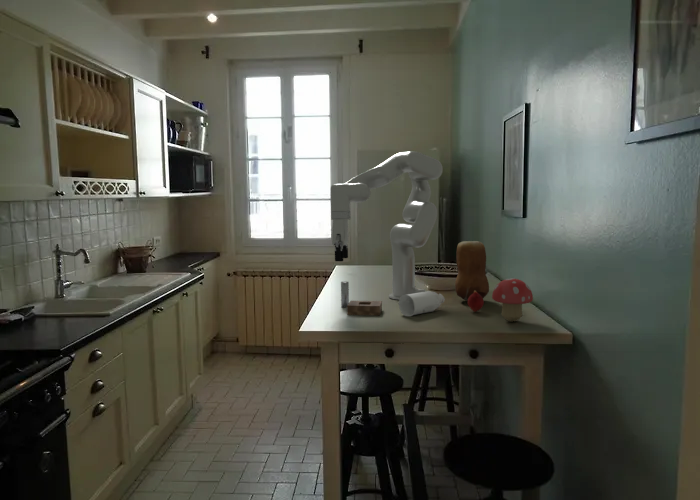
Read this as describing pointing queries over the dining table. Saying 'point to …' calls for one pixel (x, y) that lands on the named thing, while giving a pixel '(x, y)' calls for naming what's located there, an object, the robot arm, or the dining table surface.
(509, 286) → the decorative mushroom
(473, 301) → the onion
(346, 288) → the peg
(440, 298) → the white plastic bottle
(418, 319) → the dining table surface
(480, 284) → the butternut squash
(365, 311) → the hole block
